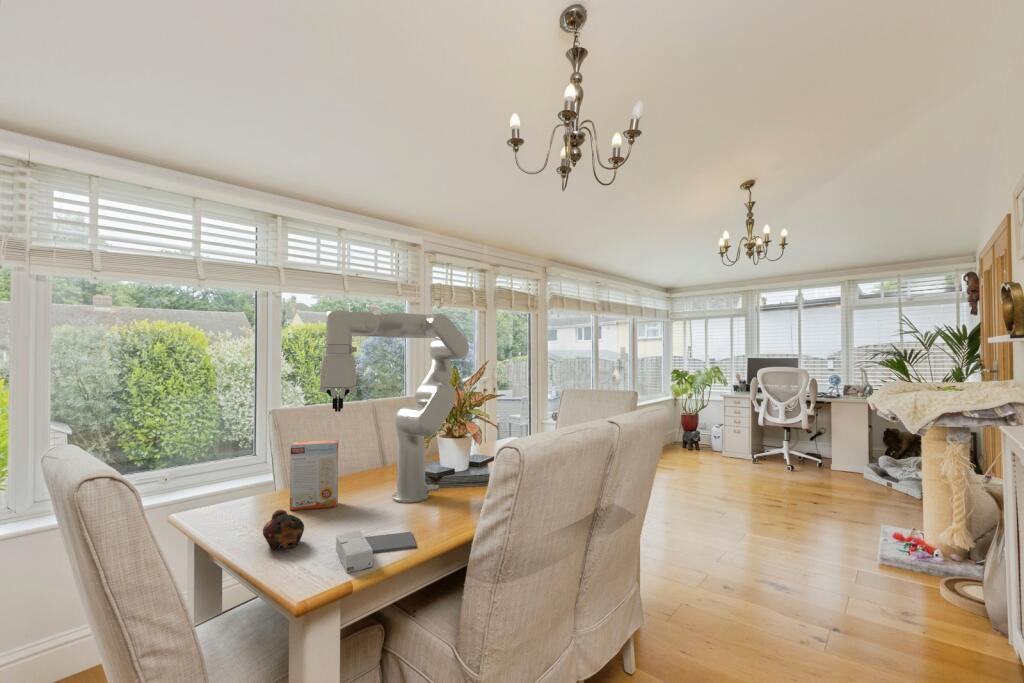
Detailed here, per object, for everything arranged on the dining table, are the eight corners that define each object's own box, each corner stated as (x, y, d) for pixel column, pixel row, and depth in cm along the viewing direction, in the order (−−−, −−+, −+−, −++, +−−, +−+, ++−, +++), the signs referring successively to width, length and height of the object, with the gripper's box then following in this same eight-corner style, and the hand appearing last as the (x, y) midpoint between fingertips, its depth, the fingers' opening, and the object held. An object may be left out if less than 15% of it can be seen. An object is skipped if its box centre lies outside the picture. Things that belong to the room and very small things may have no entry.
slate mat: (411, 533, 130) (411, 531, 130) (415, 547, 121) (415, 545, 121) (353, 540, 125) (353, 538, 125) (353, 555, 116) (353, 552, 116)
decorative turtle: (292, 533, 130) (295, 504, 131) (312, 553, 119) (315, 522, 119) (253, 540, 124) (256, 509, 124) (270, 563, 113) (274, 529, 113)
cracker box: (338, 502, 158) (339, 439, 159) (335, 507, 152) (337, 442, 153) (292, 505, 155) (294, 440, 156) (288, 511, 149) (290, 444, 150)
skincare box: (360, 529, 120) (374, 547, 109) (359, 546, 120) (374, 566, 109) (334, 534, 116) (346, 554, 106) (334, 552, 116) (346, 573, 106)
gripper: (364, 351, 150) (363, 409, 150) (313, 350, 146) (312, 410, 145) (364, 351, 143) (363, 411, 143) (311, 350, 138) (310, 413, 138)
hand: (337, 411), depth 144 cm, fingers closed
